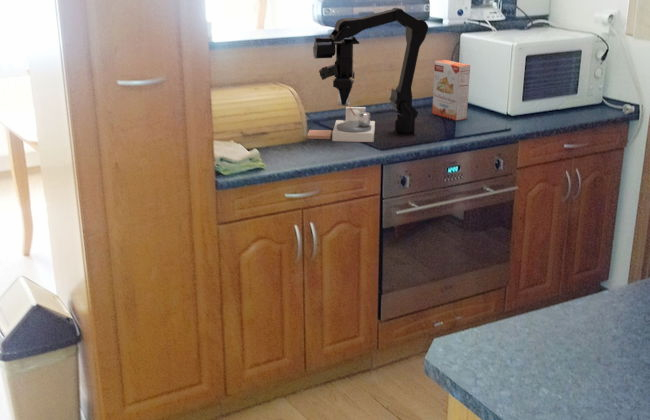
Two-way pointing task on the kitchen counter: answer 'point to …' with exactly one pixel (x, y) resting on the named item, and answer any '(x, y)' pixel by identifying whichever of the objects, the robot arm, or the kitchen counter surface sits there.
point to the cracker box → (451, 89)
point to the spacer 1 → (341, 102)
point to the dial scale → (353, 127)
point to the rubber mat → (319, 134)
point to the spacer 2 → (364, 119)
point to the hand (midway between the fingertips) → (344, 103)
